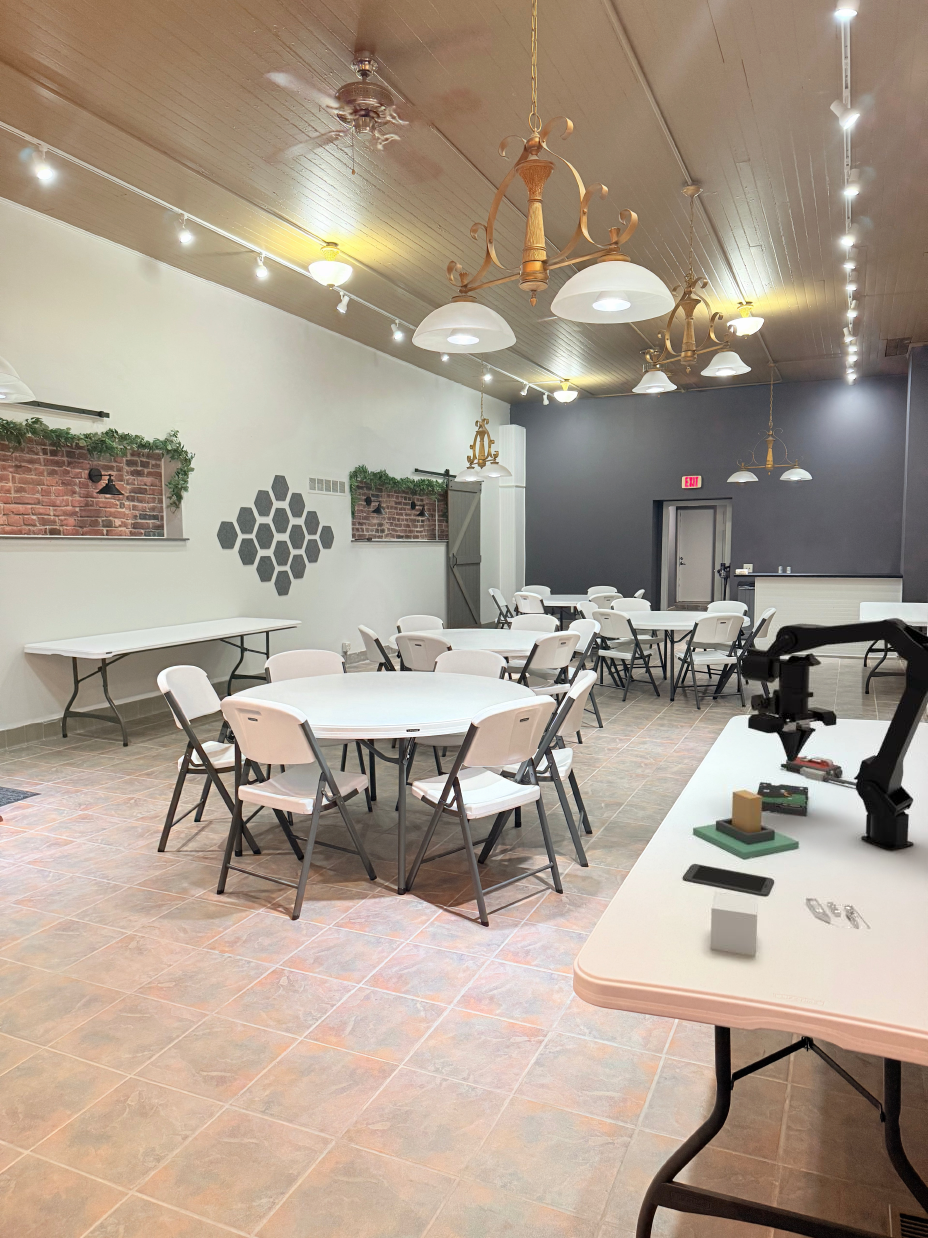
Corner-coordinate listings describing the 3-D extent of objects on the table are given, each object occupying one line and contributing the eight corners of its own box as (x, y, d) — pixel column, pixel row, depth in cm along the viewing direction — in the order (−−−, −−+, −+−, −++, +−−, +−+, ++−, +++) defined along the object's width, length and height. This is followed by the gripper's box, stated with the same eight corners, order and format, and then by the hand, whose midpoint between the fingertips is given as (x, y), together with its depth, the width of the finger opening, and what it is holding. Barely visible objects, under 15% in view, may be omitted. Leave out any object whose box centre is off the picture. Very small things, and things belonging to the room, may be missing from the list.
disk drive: (758, 793, 186) (754, 812, 173) (759, 781, 186) (754, 799, 172) (807, 799, 182) (807, 818, 168) (808, 786, 182) (807, 805, 168)
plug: (760, 838, 153) (762, 796, 152) (748, 840, 152) (749, 798, 151) (740, 829, 158) (742, 788, 157) (728, 831, 157) (729, 790, 156)
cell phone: (691, 867, 144) (691, 863, 144) (775, 883, 137) (775, 878, 137) (680, 882, 137) (681, 878, 137) (767, 899, 130) (768, 895, 130)
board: (798, 848, 151) (799, 832, 151) (744, 859, 146) (744, 843, 146) (744, 824, 164) (745, 810, 164) (693, 834, 159) (693, 819, 158)
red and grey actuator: (775, 772, 202) (853, 791, 186) (775, 755, 202) (854, 772, 186) (794, 766, 208) (873, 784, 192) (795, 749, 207) (873, 766, 191)
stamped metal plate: (805, 907, 128) (805, 898, 128) (851, 909, 128) (851, 899, 127) (821, 930, 120) (822, 920, 120) (870, 932, 120) (871, 923, 120)
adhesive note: (756, 937, 118) (758, 897, 117) (755, 957, 112) (757, 915, 111) (713, 930, 120) (714, 890, 119) (710, 949, 114) (711, 908, 114)
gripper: (797, 676, 176) (794, 747, 177) (729, 683, 168) (727, 757, 170) (839, 684, 166) (836, 759, 167) (769, 692, 158) (767, 770, 160)
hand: (791, 761), depth 166 cm, fingers closed
